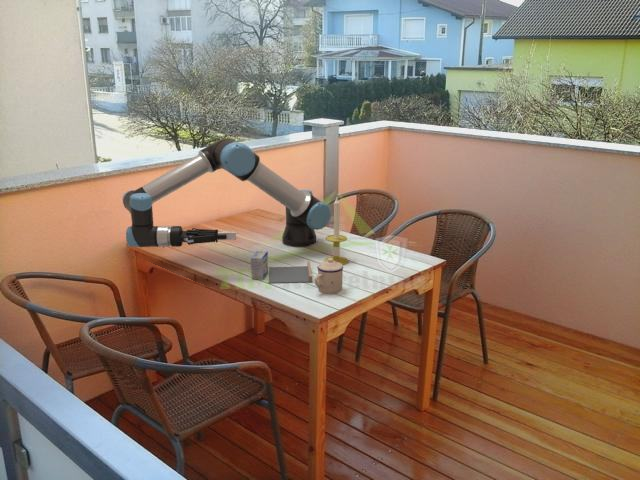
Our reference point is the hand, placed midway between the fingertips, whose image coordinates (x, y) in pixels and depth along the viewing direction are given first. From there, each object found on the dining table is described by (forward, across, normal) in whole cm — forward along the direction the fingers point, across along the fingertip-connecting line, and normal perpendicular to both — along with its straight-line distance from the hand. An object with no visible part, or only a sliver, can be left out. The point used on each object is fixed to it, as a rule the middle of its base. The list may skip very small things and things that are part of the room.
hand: (235, 235), depth 218 cm
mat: (+20, 0, -16) cm, 25 cm away
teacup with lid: (+33, +16, -16) cm, 40 cm away
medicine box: (+9, 0, -16) cm, 19 cm away
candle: (+39, -14, -16) cm, 44 cm away
